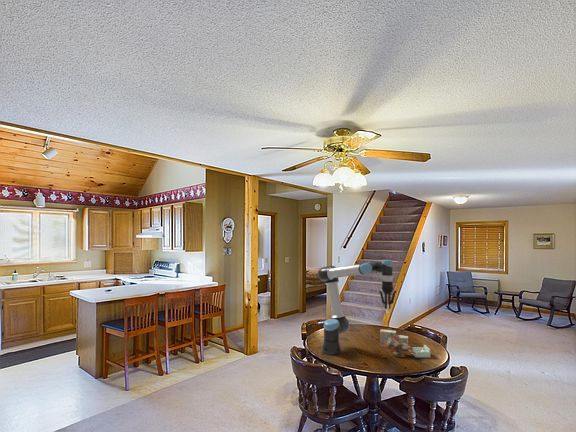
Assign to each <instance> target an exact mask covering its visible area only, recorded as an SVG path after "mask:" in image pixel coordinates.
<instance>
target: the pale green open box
mask: <svg viewBox="0 0 576 432" xmlns="http://www.w3.org/2000/svg"><path fill="white" fill-rule="evenodd" d="M411 347H412V346H411ZM412 348H413V351H414V352H415V353H416V354H413V353H411V355H412V356H413V357H415V358H419V359H420V358H423V359H424V358H429V359H430V358H431V348H429V347H428V346H427V345H426V344H423V347H418V346H417V347H415V346H414V347H412ZM421 350H425V352H421Z"/></svg>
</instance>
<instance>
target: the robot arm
mask: <svg viewBox="0 0 576 432" xmlns="http://www.w3.org/2000/svg"><path fill="white" fill-rule="evenodd" d="M393 267H394V266H393V261H392V260H391V259H382V260H381V262H378V261H367V262H365V263H360V264H359V263H358V264H351V265H344V266H338V267H337V266H335V265H327V266H322V267H320V268H319V269H318V271H317V278H318V279H319V280H320V281H322V282H324V284H325V285H326V286H327V293H328V297H329V302H330V310H331V316H330V318H329V319H326V320H324V322H323V342H322V343H323V344H322V346H321V352H322V354H325V355H329V356H330V355H331V356H338V355H340V354H342V347H341V342H340V335H342V334H344V333H346V332H348V330H349V328H350V321H349V320H348V319H347V317H346V314H344V312H343V306H342V301H341V295H340V291H339V290H340V289H339V285H338V284H339V282H340V281H339V278H343V277H349V276H350V277H351V276H357V275H368V274H372V273H381V280H382V281H381V285H382V286H381V288H380V289H378V292H379V295H380V299H381V303H382V304H384V309H385V312H386V314H387V315H389V314H390V310H391V305H393V304H394V301H395V297H396V293H397V290H395V289H394V286H393V284H394V282H393V280H394V279H393V275H394V274H393ZM383 294H384V295H383ZM391 294H392V295H391Z"/></svg>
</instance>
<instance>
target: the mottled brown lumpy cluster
mask: <svg viewBox="0 0 576 432" xmlns="http://www.w3.org/2000/svg"><path fill="white" fill-rule="evenodd" d="M394 345H395V346H398V345H402V348H404V349H407V350H406V351H408V352H409V353H410V354H412V353H413V354H416V353H415V352H414V351H413V348H412V345H411V344H409V343H408V344H405V343H402V342H399V341H396V340H393V339H391V338H388V341H387V345H386V347H385V348H387V349H389V350H392V351H393V350H394V349H395V348H394ZM413 354H412V355H413Z"/></svg>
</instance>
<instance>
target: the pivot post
mask: <svg viewBox="0 0 576 432" xmlns="http://www.w3.org/2000/svg"><path fill="white" fill-rule="evenodd" d="M392 353H393V354H394V355H395V357H396V358H405V354H404V353H403V349H402V345H398V346H396V348H395V351H393V352H392Z"/></svg>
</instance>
